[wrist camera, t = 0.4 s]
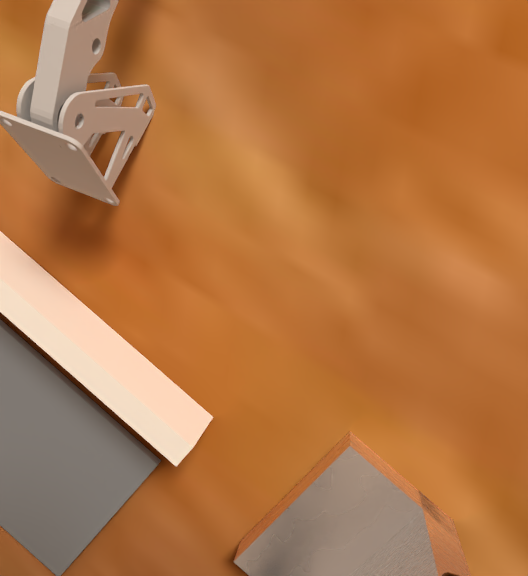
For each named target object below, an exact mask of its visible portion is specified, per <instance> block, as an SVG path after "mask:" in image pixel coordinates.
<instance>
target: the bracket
mask: <svg viewBox="0 0 528 576" xmlns="http://www.w3.org/2000/svg"><path fill="white" fill-rule="evenodd" d="M118 1H119V0H53V2H52V5H51V7H50V9H49V11H48V13H47V15H46V19H45V24H44V30H43V36H42V42H41V48H40V54H39V60H38V65H37V71H36V77H35V78H32V79H30V80H28V81H27V82H26V83H25V84H24V86H23V87H22V89H21V91H20V93H19V96H18V100H17V117H16V116H13V115H11V114H8V113H5V112H3V111H0V124H1V125H2V126H3V127H4V128H5V129H6V131H7V132H8V133H9V134H10V135H11V136H12V137H13V138H14V140H15V141H16V142H17V143H18V144H19V145H20V146H21V147H22V149H23V150H24V151H25V152H26V153H27V154H28V155H29V156H30V158H31V159H32V160H33V161H34V162H35V163H36V164H37V166H38V167H39V168H40V169H41V170H42V171H43V172H44V173H45V175H46V176H47V177H48V178H49V179H51V180H52V181H54V182H55V183H57V184H60V185H62V186H65V187H67V188H70V189H73V190H75V191H78V192H80V193H83V194H85V195H88V196H91V197H93V198H96V199H98V200H101V201H103V202H106V203H109V204H111V205H114V206H118V204H119V203H120V201H119V199H118V198H117V196H116V195H115V193H114V192H113V190H112V187H113V185H114V183H115V181H116V179H117V177H118V176H119V174H120V172H121V170H122V168H123V166H124V165H125V163H126V161H127V159H128V157H129V155H130V153H131V152H132V150H133V148H134V146H137V144H138V142H139V141H140V139H141V137H142V135H143V133H144V131H145V129H146V128H147V126H148V124H149V122H150V120H151V118H152V116H153V114H154V110H155V107H156V103H155V100H154V97H153V95H152V92H151V89H150V86H149V85H146V84H145V85H136V86H127V87H121V84H120V82H119V80H118V78H117V75H116V74H115V73H96V74H90V72H91V70H92V69H93V67H94V66H95V64H96V63H97V62H98V61H99V60H100V59H101V57H102V55H103V52H104V49H105V43H106V38H107V32H108V28H109V24H110V21H111V18H112V15H113V13H114V10H115V8H116V6H117V4H118ZM104 81H106V85H105V88H104V89H101V90H92V91H86V85H87V83H94V82H104ZM113 86H114V88H113ZM134 94H140V96H139V99H138V101H137V104H136V106H135V107H120V106H121V104H122V101H123V97H124V96H128V95H134ZM115 97H117V99H116V101H115V103H114V102H113V101H111V100H110V99H109V98H115ZM146 99H147V101H148V104H149V106H150V108H149V110H148V112H147V114H145V113H144V112H143V111H142V109H143V106H144V104H145V101H146ZM114 131H122V132H121V135H120V137H119V140H118V142H117V145H116V147H115V150H114V153H113V155H112V158H111V160H110V163H109V165H108V168H107V171H106V173H105V176H104V177H103V175H102V174H101V172H100V171H99V169H98V168H97V166H96V165H95V163H94V162H93V160H92V159H91V157H90V155H91V153H92V151H93V150H94V148H95V146H96V144H97V143H98V141H99V139H100V137H101V135H102V134H105V132H114ZM94 133H95V134H94ZM93 134H94V135H93ZM92 135H93V137H92ZM91 138H92V139H91ZM129 138H130V141H129V143H128V140H129ZM127 143H128V145H127ZM126 146H127V147H126ZM125 148H126V149H125Z"/></svg>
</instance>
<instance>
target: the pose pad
mask: <svg viewBox="0 0 528 576" xmlns="http://www.w3.org/2000/svg"><path fill="white" fill-rule="evenodd" d="M160 461H161V460H160V459H159V458H158V457H156V456H155V455H154V454H153V453H152V452H151V451H150V450H148V449H147V448H146V447H145V446H144V445H143V444H142V443H140V442H139V441H138V440H137V439H136V438H135V437H134V436H133V435H131V434H130V433H129V432H128V431H127V430H126V429H125V428H123V427H122V426H121V425H120V424H119V423H118V422H117V421H115V420H114V419H113V418H112V417H111V416H110V415H109V414H108V413H106V412H105V411H104V410H103V409H102V408H101V407H100V406H98V405H97V404H96V403H95V402H94V401H93V400H92V399H91V398H89V397H88V396H87V395H86V394H85V393H84V392H83V391H81V390H80V389H79V388H78V387H77V386H76V385H75V384H73V383H72V382H71V381H70V380H69V379H68V378H67V377H66V376H64V375H63V374H62V373H61V372H60V371H59V370H58V369H56V368H55V367H54V366H53V365H52V364H51V363H50V362H48V361H47V360H46V359H45V358H44V357H43V356H42V355H41V354H39V353H38V352H37V351H36V350H35V349H34V348H33V347H31V346H30V345H29V344H28V343H27V342H26V341H25V340H23V339H22V338H21V337H20V336H19V335H18V334H17V333H16V332H14V331H13V330H12V329H11V328H10V327H9V326H8V325H6V324H5V323H4V322H3V321H2V320H1V319H0V526H1V527H3V528H4V529H5V530H6V531H7V532H8V533H9V534H10V535H12V536H13V537H14V538H15V539H16V540H17V541H18V542H19V543H20V544H22V545H23V546H24V547H25V548H26V549H27V550H28V551H29V552H30V553H32V554H33V555H34V556H35V557H36V558H37V559H38V560H39V561H40V562H42V563H43V564H44V565H45V566H46V567H47V568H48V569H49V570H50V571H52V572H53V573H54V574H55V575H56V576H61V575H62V574H63V572H64V571H65V570H66V569H67V568H68V567H69V566H70V564H71V563H72V562H73V561H74V560H75V559H76V558H77V556H78V555H79V554H80V553H81V552H82V551H83V550H84V549H85V547H86V546H87V545H88V544H89V543H90V542H91V541H92V539H93V538H94V537H95V536H96V535H97V534H98V533H99V531H100V530H101V529H102V528H103V527H104V526H105V525H106V523H107V522H108V521H109V520H110V519H111V518H112V517H113V515H114V514H115V513H116V512H117V511H118V510H119V509H120V507H121V506H122V505H123V504H124V503H125V502H126V501H127V500H128V498H129V497H130V496H131V495H132V494H133V493H134V492H135V490H136V489H137V488H138V487H139V486H140V485H141V484H142V482H143V481H144V480H145V479H146V478H147V477H148V476H149V474H150V473H151V472H152V471H153V470H154V469H155V468H156V466H157V465H158V464H159V463H160Z"/></svg>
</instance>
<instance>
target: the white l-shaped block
mask: <svg viewBox="0 0 528 576" xmlns="http://www.w3.org/2000/svg"><path fill="white" fill-rule="evenodd" d="M0 312H1V313H2V314H3V315H4V316H5V317H7V318H8V319H9V320H10V321H11V322H12V323H13V324H14V325H16V326H17V327H18V328H19V329H20V330H21V331H22V332H24V333H25V334H26V335H27V336H28V337H29V338H30V339H32V340H33V341H34V342H35V343H36V344H37V345H38V346H39V347H41V348H42V349H43V350H44V351H45V352H46V353H47V354H49V355H50V356H51V357H52V358H53V359H54V360H55V361H57V362H58V363H59V364H60V365H61V366H62V367H63V368H64V369H66V370H67V371H68V372H69V373H70V374H71V375H72V376H74V377H75V378H76V379H77V380H78V381H79V382H80V383H82V384H83V385H84V386H85V387H86V388H87V389H88V390H89V391H91V392H92V393H93V394H94V395H95V396H96V397H97V398H99V399H100V400H101V401H102V402H103V403H104V404H105V405H107V406H108V407H109V408H110V409H111V410H112V411H113V412H115V413H116V414H117V415H118V416H119V417H120V418H121V419H122V420H124V421H125V422H126V423H127V424H128V425H129V426H130V427H132V428H133V429H134V430H135V431H136V432H137V433H138V434H140V435H141V436H142V437H143V438H144V439H145V440H146V441H147V442H149V443H150V444H151V445H152V446H153V447H154V448H155V449H157V450H158V451H159V452H160V453H161V454H162V455H163V456H165V457H166V458H167V459H168V460H169V461H170V462H171V463H172V464H174V465H175V466H177V465H178V464H179V463H180V462H181V461H182V460H183V458H184V457H185V456H186V455H187V454H188V453H189V452H190V451H191V449H192V448H193V447H194V446H195V444H196V443H197V441H198V440H199V438H200V437H201V435H202V434H203V432H204V431H205V429H206V428H207V426H208V425H209V423H210V422H211V420H212V419H213V416H211V415H210V414H209V413H208V412H207V411H206V410H205V409H203V408H202V407H201V406H200V405H199V404H198V403H196V402H195V401H194V400H193V399H192V398H191V397H190V396H188V395H187V394H186V393H185V392H184V391H183V390H182V389H180V388H179V387H178V386H177V385H176V384H175V383H174V382H172V381H171V380H170V379H169V378H168V377H167V376H166V375H164V374H163V373H162V372H161V371H160V370H159V369H158V368H156V367H155V366H154V365H153V364H152V363H151V362H150V361H148V360H147V359H146V358H145V357H144V356H143V355H141V354H140V353H139V352H138V351H137V350H136V349H135V348H133V347H132V346H131V345H130V344H129V343H128V342H127V341H125V340H124V339H123V338H122V337H121V336H120V335H119V334H117V333H116V332H115V331H114V330H113V329H112V328H111V327H109V326H108V325H107V324H106V323H105V322H104V321H103V320H101V319H100V318H99V317H98V316H97V315H96V314H95V313H93V312H92V311H91V310H90V309H89V308H88V307H87V306H85V305H84V304H83V303H82V302H81V301H80V300H78V299H77V298H76V297H75V296H74V295H73V294H72V293H70V292H69V291H68V290H67V289H66V288H65V287H64V286H62V285H61V284H60V283H59V282H58V281H57V280H56V279H54V278H53V277H52V276H51V275H50V274H49V273H48V272H46V271H45V270H44V269H43V268H42V267H41V266H40V265H38V264H37V263H36V262H35V261H34V260H33V259H32V258H30V257H29V256H28V255H27V254H26V253H25V252H24V251H22V250H21V249H20V248H19V247H18V246H17V245H15V244H14V243H13V242H12V241H11V240H10V239H9V238H7V237H6V236H5V235H4V234H3V233H2V232H1V231H0Z"/></svg>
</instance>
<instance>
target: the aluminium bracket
mask: <svg viewBox="0 0 528 576" xmlns="http://www.w3.org/2000/svg"><path fill="white" fill-rule="evenodd" d="M234 563H235V564H236V565H238V566H239V567H240V568H241V569H242V570H243V571H244V572H245V573H247V574H248V575H249V576H442V575H443V574H444V573H446V572H449V573H453V574H456V575H460V576H471V575H470V572H469V569H468V566H467V563H466V559H465V556H464V553H463V550H462V547H461V544H460V541H459V538H458V535H457V531H456V528H455V525H454V522H453V520H452V519H451V518H450V517H449V516H448V515H447V514H445V513H444V512H443V511H442V510H441V509H440V508H438V507H437V506H436V505H435V504H434V503H433V502H431V501H430V500H429V499H428V498H427V497H426V496H425V495H423V494H422V493H421V492H420V491H419V490H418V489H416V488H415V487H414V486H413V485H412V484H411V483H410V482H408V481H407V480H406V479H405V478H404V477H403V476H401V475H400V474H399V473H398V472H397V471H396V470H394V469H393V468H392V467H391V466H390V465H389V464H388V463H386V462H385V461H384V460H383V459H382V458H381V457H379V456H378V455H377V454H376V453H375V452H374V451H372V450H371V449H370V448H369V447H368V446H367V445H366V444H364V443H363V442H362V441H361V440H360V439H359V438H357V437H356V436H355V435H354V434H353V433H352V432H349V433H348V434H347V435H346V436H345V437H344V438H343V439H342V440H341V441H340V442H339V443H338V444H337V445H336V446H335V447H334V448H333V449H332V450H331V451H330V452H329V453H328V454H327V455H326V456H325V457H324V458H323V459H322V460H321V461H320V462H319V463H318V464H317V465H316V466H315V467H314V468H313V469H312V470H311V471H310V472H309V473H308V474H307V475H306V476H305V477H304V478H303V479H302V480H301V481H300V482H299V483H298V484H297V485H296V486H295V487H294V488H293V489H292V490H291V491H290V492H289V493H288V494H287V495H286V496H285V497H284V498H283V499H282V500H281V501H280V502H279V503H278V504H277V505H276V506H275V507H274V508H273V509H272V510H271V511H270V512H269V513H268V514H267V515H266V516H265V517H264V518H263V519H262V520H261V521H260V522H259V523H258V524H257V525H256V526H255V527H254V528H253V529H252V530H251V531H250V532H249V533H248V534H247V535H246V536H245V537H244V538H243V539H242V540H241V541H240V544H239V547H238V550H237V553H236V556H235V559H234Z"/></svg>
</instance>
